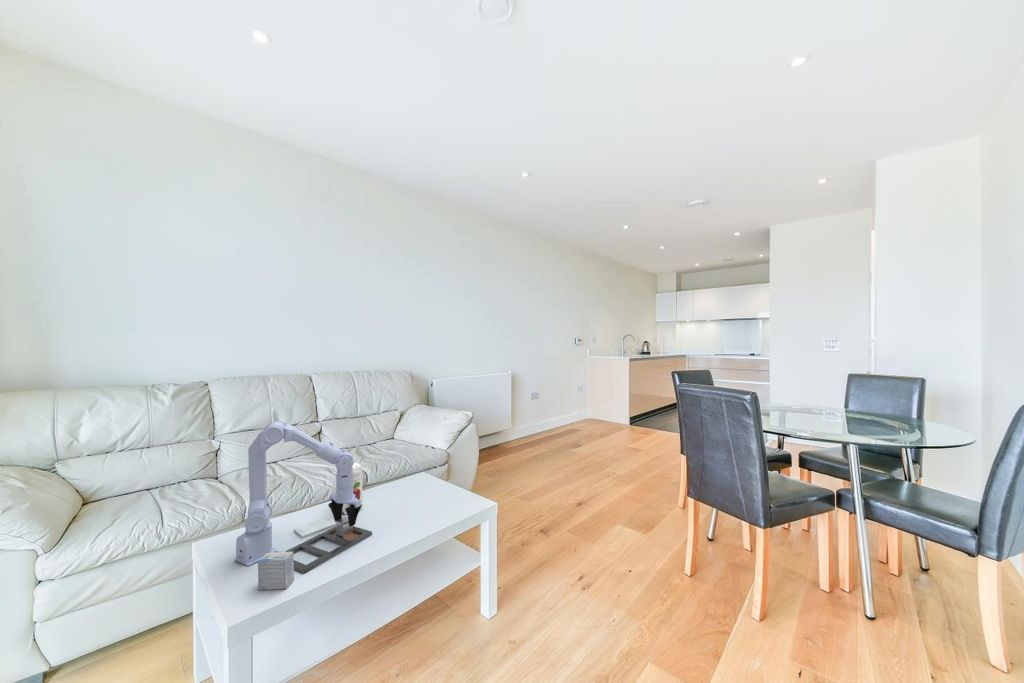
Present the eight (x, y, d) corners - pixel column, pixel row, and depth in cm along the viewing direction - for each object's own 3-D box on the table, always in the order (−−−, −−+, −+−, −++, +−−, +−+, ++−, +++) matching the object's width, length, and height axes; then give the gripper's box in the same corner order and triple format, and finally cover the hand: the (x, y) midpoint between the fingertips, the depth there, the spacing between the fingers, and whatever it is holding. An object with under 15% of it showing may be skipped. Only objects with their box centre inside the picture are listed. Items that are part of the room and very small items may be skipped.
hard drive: (327, 517, 149) (293, 528, 140) (336, 523, 144) (302, 535, 134) (327, 521, 149) (293, 533, 140) (336, 527, 144) (302, 540, 134)
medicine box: (294, 580, 110) (294, 550, 110) (286, 590, 106) (285, 559, 106) (267, 581, 110) (267, 551, 110) (257, 591, 105) (257, 560, 105)
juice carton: (337, 510, 157) (336, 465, 158) (358, 504, 163) (357, 461, 163) (343, 516, 152) (342, 469, 152) (364, 510, 157) (363, 465, 158)
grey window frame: (304, 573, 113) (303, 570, 113) (273, 561, 120) (273, 557, 120) (372, 534, 136) (371, 531, 136) (342, 526, 143) (342, 522, 143)
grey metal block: (343, 540, 132) (343, 523, 132) (335, 537, 134) (335, 521, 134) (352, 535, 136) (352, 518, 136) (345, 532, 138) (345, 516, 138)
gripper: (367, 485, 136) (367, 522, 136) (341, 479, 143) (341, 514, 142) (351, 492, 130) (351, 531, 129) (324, 485, 136) (324, 522, 136)
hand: (345, 523), depth 135 cm, fingers open, 7 cm apart
